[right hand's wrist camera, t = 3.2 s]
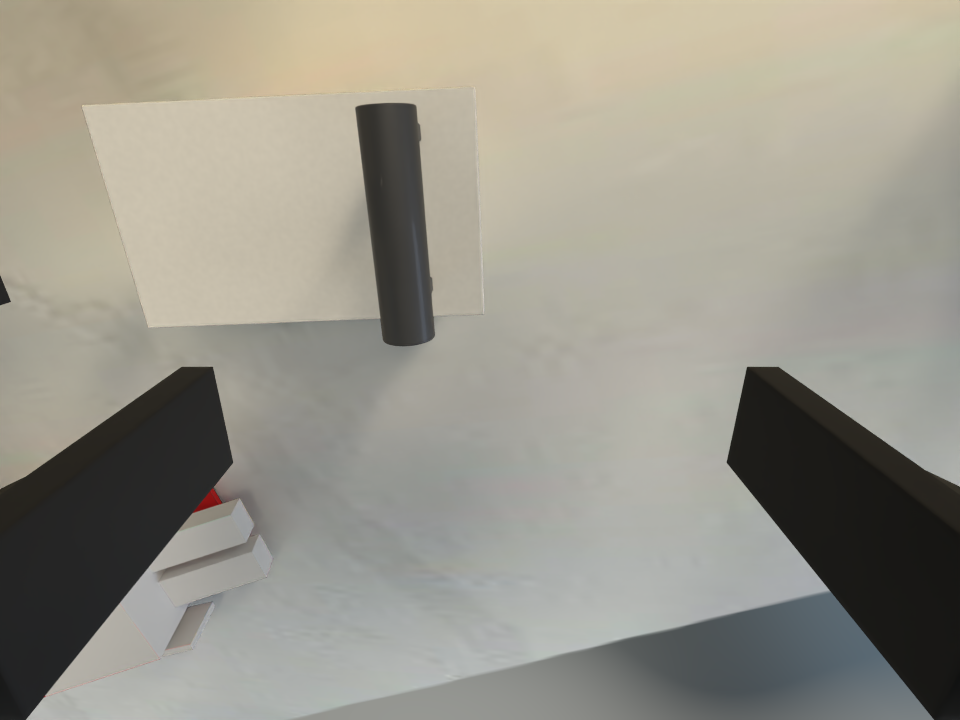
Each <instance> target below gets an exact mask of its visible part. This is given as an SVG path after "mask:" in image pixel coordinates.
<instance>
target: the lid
mask: <svg viewBox="0 0 960 720" xmlns="http://www.w3.org/2000/svg"><path fill="white" fill-rule="evenodd" d="M82 110H83V113H84V117H85V120H86V123H87V127H88V130H89V133H90V137H91V140H92V143H93V147H94V150H95V153H96V157H97V160H98V163H99V167H100V170H101V173H102V177H103V180H104V183H105V187H106V190H107V193H108V196H109V200H110V203H111V206H112V210H113V213H114V216H115V220H116V223H117V226H118V230H119V233H120V236H121V240H122V243H123V246H124V250H125V253H126V256H127V260H128V263H129V266H130V270H131V273H132V276H133V280H134V283H135V286H136V289H137V293H138V296H139V299H140V303H141V306H142V309H143V313H144V316H145V319H146V323H147V326H148V328H162V327H187V326H212V325H237V324H262V323H287V322H312V321H337V320H362V319H381V328H382V336H383V341H384V342H385V343H387V344H389V345H394V346H413V345H418V344H422V343H426V342H428V341H430V340H432V339H433V338H434V336H435V331H434V318H433V317H437V316H462V315H483V314H484V287H483V262H482V237H481V212H480V187H479V163H478V138H477V113H476V90H475V87H474V86H469V87H448V88H427V89H406V90H386V91H365V92H344V93H323V94H302V95H281V96H260V97H239V98H218V99H197V100H177V101H156V102H135V103H114V104H93V105H82Z"/></svg>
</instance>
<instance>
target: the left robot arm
mask: <svg viewBox="0 0 960 720" xmlns="http://www.w3.org/2000/svg"><path fill="white" fill-rule="evenodd" d="M9 302H11V301H10V298H9V296H8V293H7V291H6V288H5V286H4V284H3V281H2V279H1V276H0V305H2V304H6V303H9Z"/></svg>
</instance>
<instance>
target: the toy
mask: <svg viewBox="0 0 960 720" xmlns="http://www.w3.org/2000/svg"><path fill="white" fill-rule="evenodd" d="M253 527H254V523H253V521H252V519H251V517H250V516H249V514H248V512H247V510H246V508H245V507H244V505H243V503H242V501H241V499H240V498H238V499H235V500H232V501H229V502H226V503H223V504H222V502H221V500H220V499H219V497H218V496H217V494H216V492H215V491H214V489H213V488H212V490H211V491H210V492H209V493H208V495H207V496H206V497H205V498H204V499H203V501H202V502H201V503H200V504H199V506H198V507H197V508H196V509H195V511H194V512H193V513H192V514H191V516H190V517H189V518H188V519H187V521H186V522H185V523H184V524H183V526H182V527H181V528H180V529H179V530H178V532H177V533H176V534H175V535H174V537H173V538H172V539H171V540H170V542H169V543H168V544H167V545H166V547H165V548H164V549H163V550H162V552H161V553H160V554H159V555H158V556H157V558H156V559H155V560H154V561H153V563H152V564H151V565H150V566H149V568H148V569H147V570H146V571H145V573H144V574H143V575H142V576H141V578H140V579H139V580H138V581H137V583H136V584H135V585H134V586H133V587H132V589H131V590H130V591H129V592H128V594H127V595H126V596H125V597H124V599H123V600H122V601H121V602H120V604H119V605H118V606H117V607H116V609H115V610H114V611H113V612H112V613H111V615H110V616H109V617H108V618H107V620H106V621H105V622H104V623H103V625H102V626H101V627H100V628H99V630H98V631H97V632H96V633H95V635H94V636H93V637H92V638H91V639H90V641H89V642H88V643H87V644H86V646H85V647H84V648H83V649H82V651H81V652H80V653H79V654H78V656H77V657H76V658H75V659H74V661H73V662H72V663H71V664H70V666H69V667H68V668H67V669H66V670H65V672H64V673H63V674H62V675H61V677H60V678H59V679H58V680H57V682H56V683H55V684H54V685H53V687H52V688H51V689H50V690H49V692H48V693H47V694H46V695H45V696H44V697H46V696H49V695H52V694H55V693H58V692H61V691H65V690H68V689H71V688H74V687H77V686H80V685H83V684H86V683H89V682H92V681H95V680H98V679H101V678H104V677H107V676H110V675H113V674H116V673H119V672H122V671H125V670H128V669H131V668H134V667H138V666H141V665H144V664H147V663H150V662H153V661H156V660H159V659H161V657H164V656H168V655H172V654H176V653H181V652H185V651H189V650H193V649H194V647H195V645H196V643H197V641H198V639H199V637H200V635H201V633H202V631H203V629H204V627H205V625H206V623H207V621H208V619H209V617H210V615H211V613H212V611H213V609H214V607H215V605H214V603H213V602H208V603H204V604H200V605H196V606H192V607H188V605H189V603H190V602H193V601H196V600H199V599H202V598H205V597H208V596H211V595H214V594H218V593H221V592H224V591H227V590H230V589H233V588H236V587H239V586H242V585H245V584H248V583H251V582H254V581H257V580H260V579H263V578H267V575H268V572H269V569H270V567H271V564H272V561H273V557H272V555H271V553H270V552H269V550H268V548H267V546H266V544H265V543H264V541H263V539H262V537H261V535H260V534H257V535H254V536H251V537H249V535H250V533H251V531H252V529H253Z"/></svg>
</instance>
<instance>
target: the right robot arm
mask: <svg viewBox="0 0 960 720" xmlns="http://www.w3.org/2000/svg"><path fill="white" fill-rule="evenodd" d="M232 464H233V459H232V455H231V450H230V445H229V440H228V436H227V431H226V426H225V422H224V417H223V412H222V408H221V403H220V398H219V393H218V389H217V384H216V379H215V375H214V370H213V367H181V368H179V369H178V370H177V371H175V372H174V373H172V374H171V375H170V376H168V377H167V378H165V379H164V380H162V381H161V382H160V383H158V384H157V385H155V386H154V387H153V388H151V389H150V390H148V391H147V392H145V393H144V394H143V395H141V396H140V397H138V398H137V399H135V400H134V401H133V402H131V403H130V404H128V405H127V406H126V407H124V408H123V409H121V410H120V411H118V412H117V413H116V414H114V415H113V416H111V417H110V418H108V419H107V420H106V421H104V422H103V423H101V424H100V425H99V426H97V427H96V428H94V429H93V430H91V431H90V432H89V433H87V434H86V435H84V436H83V437H82V438H80V439H79V440H77V441H76V442H74V443H73V444H72V445H70V446H69V447H67V448H66V449H64V450H63V451H62V452H60V453H59V454H57V455H56V456H55V457H53V458H52V459H50V460H49V461H47V462H46V463H45V464H43V465H42V466H40V467H39V468H37V469H36V470H35V471H33V472H32V473H30V474H29V475H28V476H26V477H24V478H22V479H20V480H18V481H16V482H14V483H12V484H10V485H7V486H5V487H3V488H2V489H0V720H26V719H27V718H28V716H29V715H30V714H31V713H32V711H33V710H34V709H35V708H36V706H37V705H38V704H39V703H40V701H41V700H42V699H43V698H44V696H45V695H46V694H47V693H48V692H49V690H50V689H51V688H52V687H53V685H54V684H55V683H56V682H57V680H58V679H59V678H60V677H61V675H62V674H63V673H64V672H65V670H66V669H67V668H68V667H69V666H70V664H71V663H72V662H73V661H74V659H75V658H76V657H77V656H78V654H79V653H80V652H81V651H82V649H83V648H84V647H85V646H86V644H87V643H88V642H89V641H90V639H91V638H92V637H93V636H94V635H95V633H96V632H97V631H98V630H99V628H100V627H101V626H102V625H103V623H104V622H105V621H106V620H107V618H108V617H109V616H110V615H111V613H112V612H113V611H114V610H115V609H116V607H117V606H118V605H119V604H120V602H121V601H122V600H123V599H124V597H125V596H126V595H127V594H128V592H129V591H130V590H131V589H132V587H133V586H134V585H135V584H136V583H137V581H138V580H139V579H140V578H141V576H142V575H143V574H144V573H145V571H146V570H147V569H148V568H149V566H150V565H151V564H152V563H153V561H154V560H155V559H156V558H157V556H158V555H159V554H160V553H161V552H162V550H163V549H164V548H165V547H166V545H167V544H168V543H169V542H170V540H171V539H172V538H173V537H174V535H175V534H176V533H177V532H178V530H179V529H180V528H181V527H182V526H183V524H184V523H185V522H186V521H187V519H188V518H189V517H190V516H191V514H192V513H193V512H194V511H195V509H196V508H197V507H198V506H199V504H200V503H201V502H202V501H203V499H204V498H205V497H206V496H207V495H208V493H209V492H210V491H211V490H212V488H213V487H214V486H215V485H216V483H217V482H218V481H219V480H220V478H221V477H222V476H223V475H224V473H225V472H226V471H227V470H228V469H229V467H230V466H231V465H232ZM727 464H728V465H729V466H730V467H731V469H732V470H733V471H734V472H735V473H736V475H737V476H738V477H739V478H740V480H741V481H742V482H743V483H744V485H745V486H746V487H747V488H748V490H749V491H750V492H751V493H752V495H753V496H754V497H755V498H756V499H757V501H758V502H759V503H760V504H761V506H762V507H763V508H764V509H765V511H766V512H767V513H768V514H769V516H770V517H771V518H772V519H773V521H774V522H775V523H776V524H777V526H778V527H779V528H780V529H781V530H782V532H783V533H784V534H785V535H786V537H787V538H788V539H789V540H790V542H791V543H792V544H793V545H794V547H795V548H796V549H797V550H798V552H799V553H800V554H801V555H802V556H803V558H804V559H805V560H806V561H807V563H808V564H809V565H810V566H811V568H812V569H813V570H814V571H815V573H816V574H817V575H818V576H819V578H820V579H821V580H822V581H823V583H824V584H825V585H826V586H827V587H828V589H829V590H830V591H831V592H832V594H833V595H834V596H835V597H836V599H837V600H838V601H839V602H840V603H841V605H842V606H843V607H844V608H845V610H846V611H847V612H848V613H849V615H850V616H851V617H852V618H853V620H854V621H855V622H856V623H857V625H858V626H859V627H860V628H861V630H862V631H863V632H864V633H865V635H866V636H867V637H868V638H869V639H870V641H871V642H872V643H873V644H874V646H875V647H876V648H877V649H878V651H879V652H880V653H881V654H882V656H883V657H884V658H885V659H886V661H887V662H888V663H889V664H890V666H891V667H892V668H893V669H894V670H895V672H896V673H897V674H898V675H899V677H900V678H901V679H902V680H903V682H904V683H905V684H906V685H907V687H908V688H909V689H910V690H911V691H912V693H913V694H914V695H915V696H916V698H917V699H918V700H919V701H920V703H921V704H922V705H923V706H924V708H925V709H926V710H927V711H928V713H929V714H930V715H931V716H932V718H933V719H934V720H960V487H959V486H957V485H955V484H953V483H951V482H949V481H947V480H945V479H943V478H940V477H938V476H936V475H934V474H932V473H930V472H928V471H926V470H924V469H923V468H921V467H920V466H918V465H917V464H915V463H914V462H913V461H911V460H910V459H908V458H907V457H905V456H904V455H903V454H901V453H900V452H898V451H897V450H896V449H894V448H893V447H891V446H890V445H888V444H887V443H886V442H884V441H883V440H881V439H880V438H878V437H877V436H876V435H874V434H873V433H871V432H870V431H869V430H867V429H866V428H864V427H863V426H861V425H860V424H859V423H857V422H856V421H854V420H853V419H852V418H850V417H849V416H847V415H846V414H844V413H843V412H842V411H840V410H839V409H837V408H836V407H834V406H833V405H832V404H830V403H829V402H827V401H826V400H825V399H823V398H822V397H820V396H819V395H817V394H816V393H815V392H813V391H812V390H810V389H809V388H807V387H806V386H805V385H803V384H802V383H800V382H799V381H798V380H796V379H795V378H793V377H792V376H790V375H789V374H788V373H786V372H785V371H783V370H782V369H781V368H779V367H747V370H746V375H745V379H744V384H743V389H742V393H741V398H740V403H739V408H738V412H737V417H736V422H735V426H734V431H733V436H732V440H731V445H730V450H729V454H728V459H727Z"/></svg>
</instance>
